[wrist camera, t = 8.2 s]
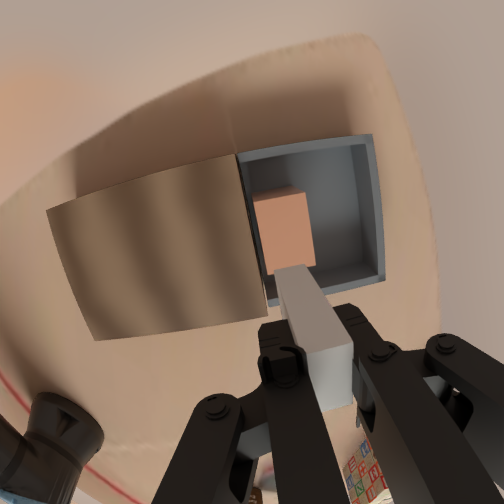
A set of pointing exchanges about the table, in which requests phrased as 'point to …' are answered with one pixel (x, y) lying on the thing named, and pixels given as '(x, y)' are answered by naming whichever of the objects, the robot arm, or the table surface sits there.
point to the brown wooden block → (162, 252)
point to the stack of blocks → (366, 478)
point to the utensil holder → (255, 496)
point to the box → (327, 206)
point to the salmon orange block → (284, 227)
